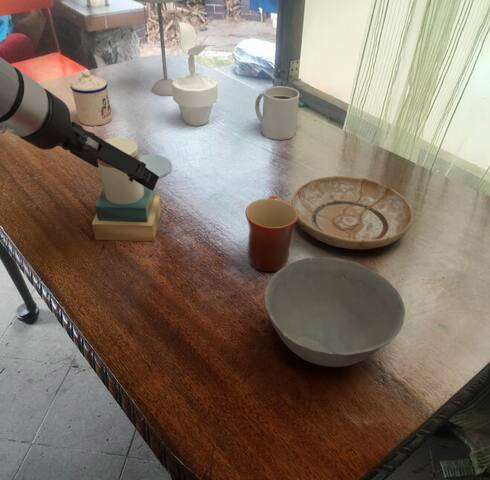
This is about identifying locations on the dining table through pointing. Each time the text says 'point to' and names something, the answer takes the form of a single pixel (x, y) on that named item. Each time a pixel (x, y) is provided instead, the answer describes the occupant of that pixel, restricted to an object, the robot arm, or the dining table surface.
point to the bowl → (333, 310)
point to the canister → (121, 176)
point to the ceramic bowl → (352, 212)
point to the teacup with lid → (91, 99)
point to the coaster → (157, 164)
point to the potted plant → (193, 81)
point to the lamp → (165, 84)
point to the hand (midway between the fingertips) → (126, 171)
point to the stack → (128, 218)
